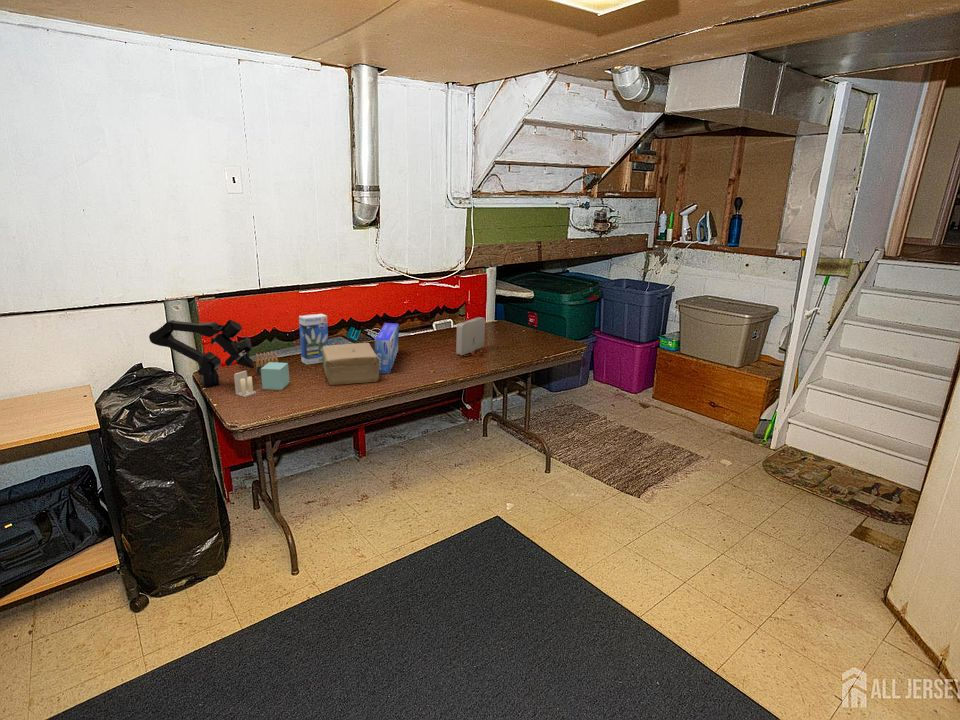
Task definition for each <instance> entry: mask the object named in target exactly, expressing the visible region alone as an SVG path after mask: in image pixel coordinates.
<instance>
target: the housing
mask: <svg viewBox="0 0 960 720" xmlns="http://www.w3.org/2000/svg"><path fill="white" fill-rule="evenodd" d="M260 373H261V375H260V376H261V387H262V390H271V391H272V390H278V391H283V389H284V388H286V387H287V386H288V384H290V372H289V363H288V362H278V363H276V362H269V363H268V364H266V365H265V366H264V367H262V368H261V371H260Z"/></svg>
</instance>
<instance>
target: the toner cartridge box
mask: <svg viewBox="0 0 960 720" xmlns="http://www.w3.org/2000/svg"><path fill="white" fill-rule="evenodd" d="M399 324H400V323H391V322H385V323H384V324H383V326H382V328H381V329H380V330H379V332H378V334H377V336H376V337H375V338H374V352H375V354H376V355H377V357H378V358H379V374H391V372H392V370H391V369H393V366H394V364H395V362H394V361H396V360H397V357H396V356H398V355H397V353H398V354H399V332H400V331H399V330H400V327H399V326H400V325H399ZM395 359H396V360H395Z"/></svg>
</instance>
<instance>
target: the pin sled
mask: <svg viewBox="0 0 960 720" xmlns="http://www.w3.org/2000/svg"><path fill="white" fill-rule="evenodd" d="M233 379H234V388H235V389H234V390H235V395H237V396H240V397H243V398H246V397H249V396H252V395H256V394H257V391H255V390H254V387H253V377H252V376H248V371H247V370H243V371H239V372H236V373H234V374H233Z"/></svg>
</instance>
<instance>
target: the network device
mask: <svg viewBox="0 0 960 720" xmlns="http://www.w3.org/2000/svg"><path fill="white" fill-rule="evenodd" d="M485 335H486V318H485V317H480V316H479V317H474V318H472V319H469V320H465V321H462V322H459V323H457V325H456V339H455V340H456V341H455V343H456V347H455V349H456V350H455V352H456V353H455V354H456V355H457V354H460V355H464V356H465V355H467V354H468V353H469V352H472V351H474V352H475V351H477V350H476V349H481V348H483V347H484V346H485V339H486V337H485Z"/></svg>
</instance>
